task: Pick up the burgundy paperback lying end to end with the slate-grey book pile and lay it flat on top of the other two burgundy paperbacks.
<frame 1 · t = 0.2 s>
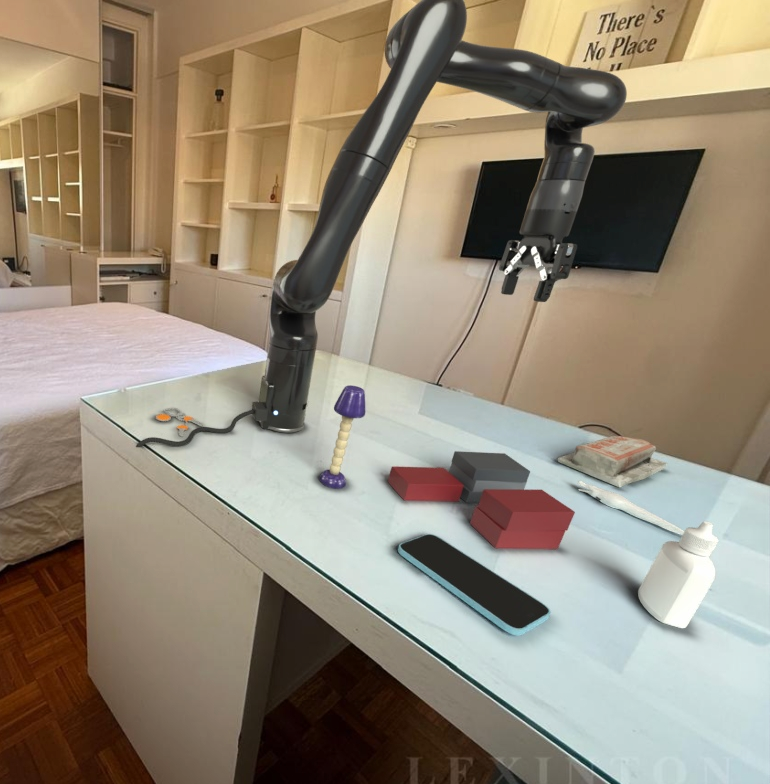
hand: (522, 297, 89), 29 cm above the table, tool pointing down, fingers open, 8 cm apart
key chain: (178, 423, 93), on the table
packaged product: (609, 467, 86), on the table
smartphone: (465, 583, 55), on the table
eye dropper bottle: (659, 611, 52), on the table
burgundy paperback: (422, 491, 74), on the table
toy lamp: (333, 483, 75), on the table
grey book pile: (480, 492, 74), on the table
white toothbrush: (627, 514, 71), on the table
burgundy book stack: (512, 536, 64), on the table
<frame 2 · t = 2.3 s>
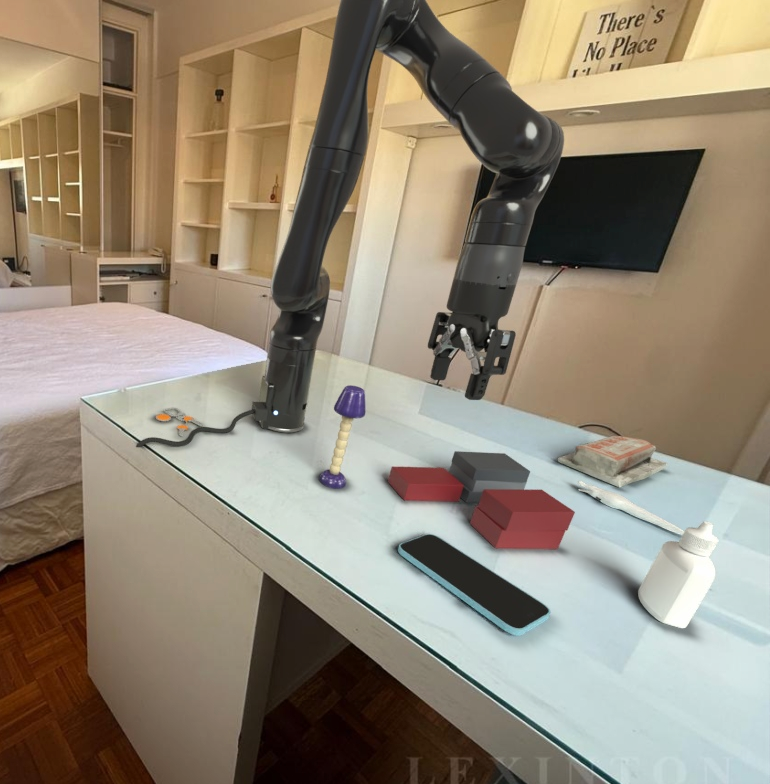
hand: (454, 388, 68), 18 cm above the table, tool pointing down, fingers open, 8 cm apart
nothing on the table moved.
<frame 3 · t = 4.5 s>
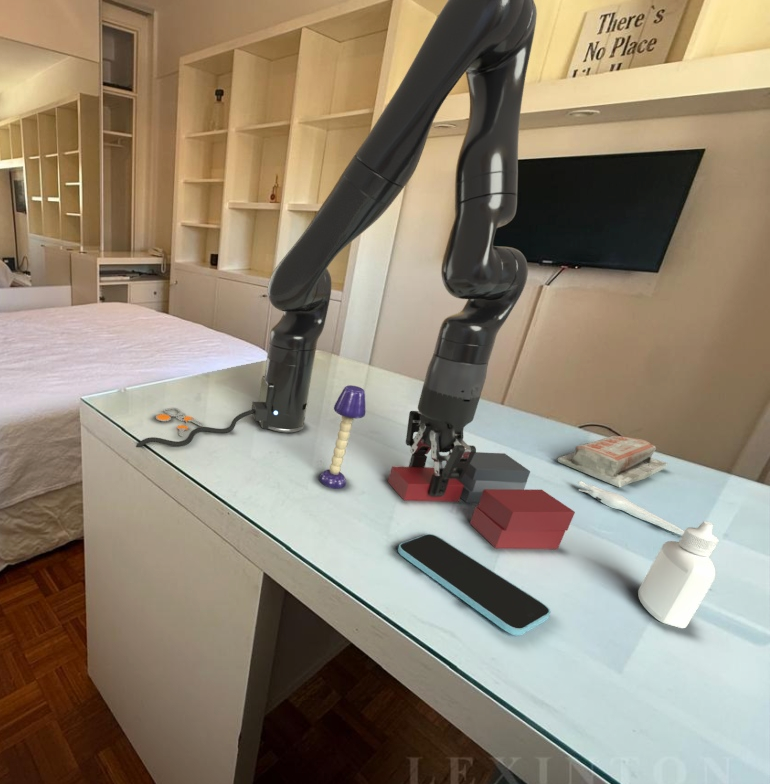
hand: (424, 484, 73), 1 cm above the table, tool pointing down, fingers closed on burgundy paperback, 5 cm apart
burgundy paperback: (422, 491, 74), on the table, touching gripper
everything else where it was.
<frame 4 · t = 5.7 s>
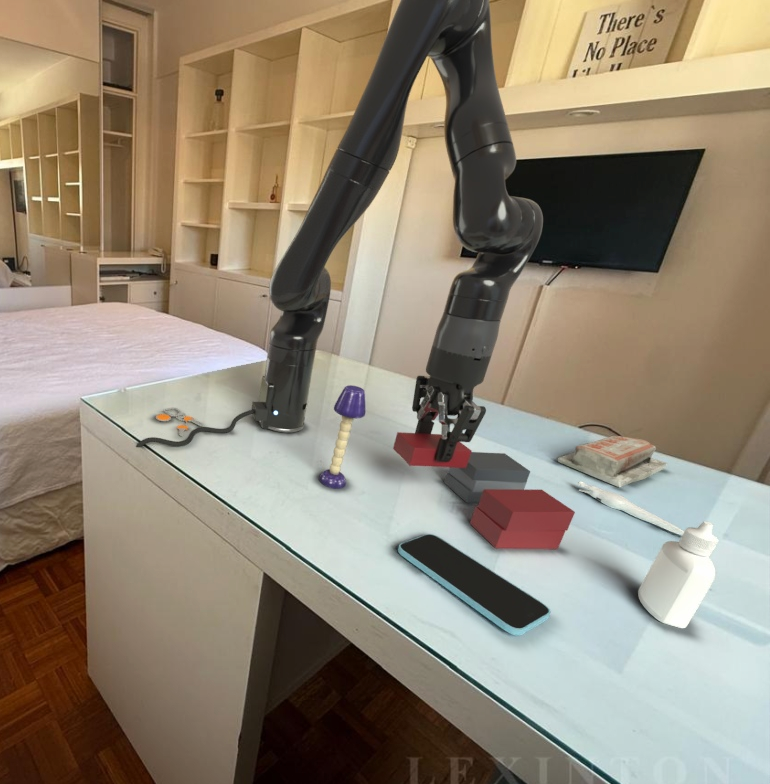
hand: (430, 450, 71), 7 cm above the table, tool pointing down, fingers closed on burgundy paperback, 5 cm apart
burgundy paperback: (428, 458, 72), point 6 cm above the table, touching gripper
everything else where it was.
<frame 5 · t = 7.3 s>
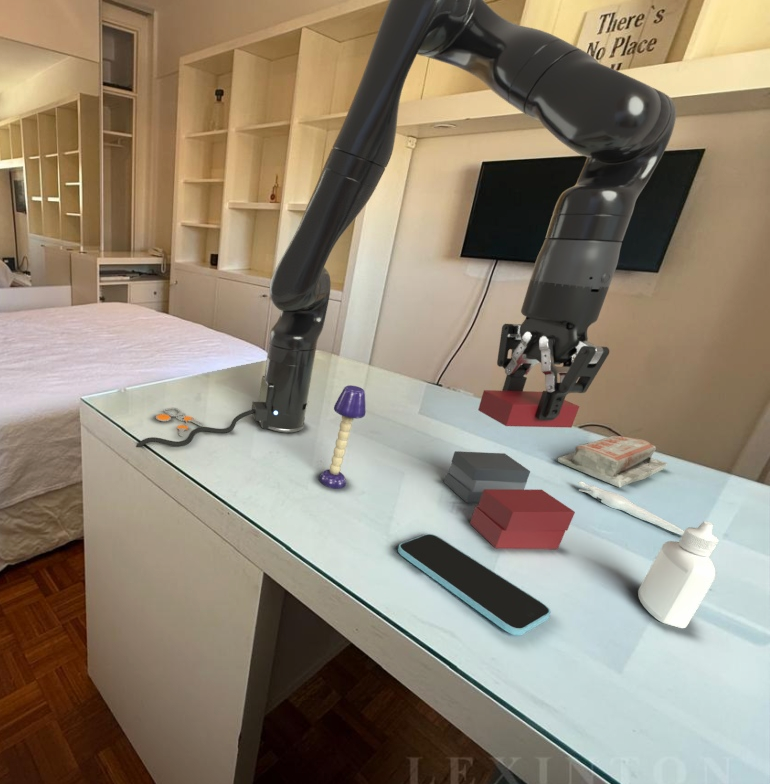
hand: (526, 409, 60), 18 cm above the table, tool pointing down, fingers closed on burgundy paperback, 5 cm apart
burgundy paperback: (523, 418, 61), point 17 cm above the table, touching gripper
everything else where it was.
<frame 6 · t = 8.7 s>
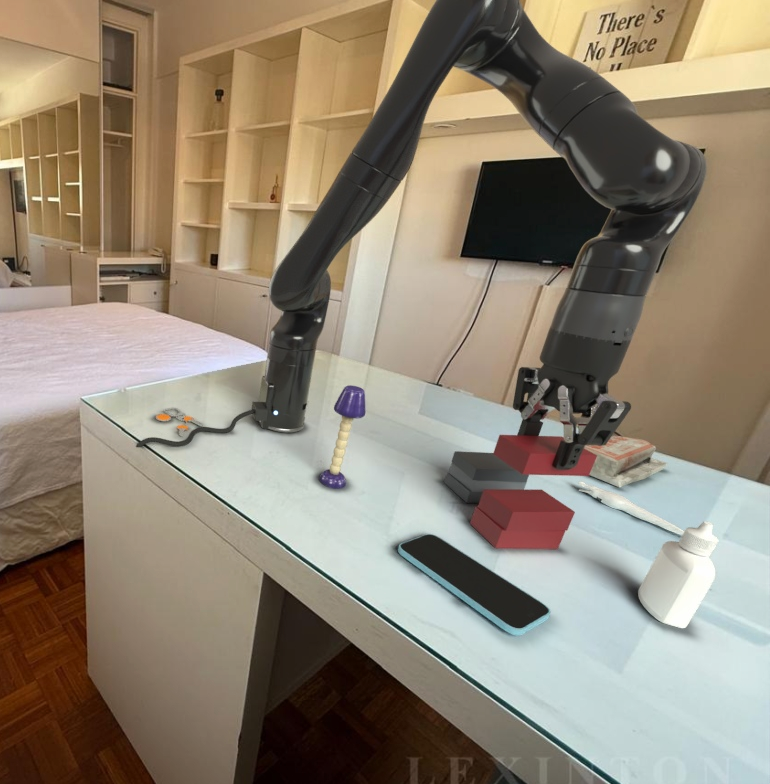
hand: (542, 456, 59), 13 cm above the table, tool pointing down, fingers closed on burgundy paperback, 5 cm apart
burgundy paperback: (539, 464, 60), point 11 cm above the table, touching gripper
everything else where it was.
when the fingers open (7 cm above the table, at t = 10.5 s): burgundy paperback stays where it is, resting on burgundy book stack.
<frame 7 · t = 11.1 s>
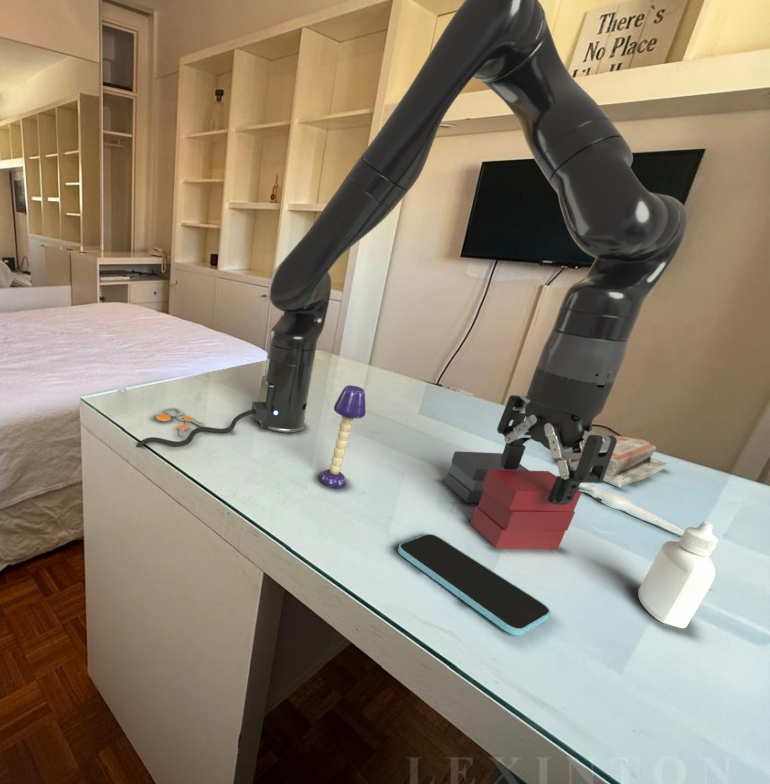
hand: (531, 484, 61), 8 cm above the table, tool pointing down, fingers open, 8 cm apart
burgundy paperback: (525, 499, 62), point 6 cm above the table, touching burgundy book stack
everything else where it was.
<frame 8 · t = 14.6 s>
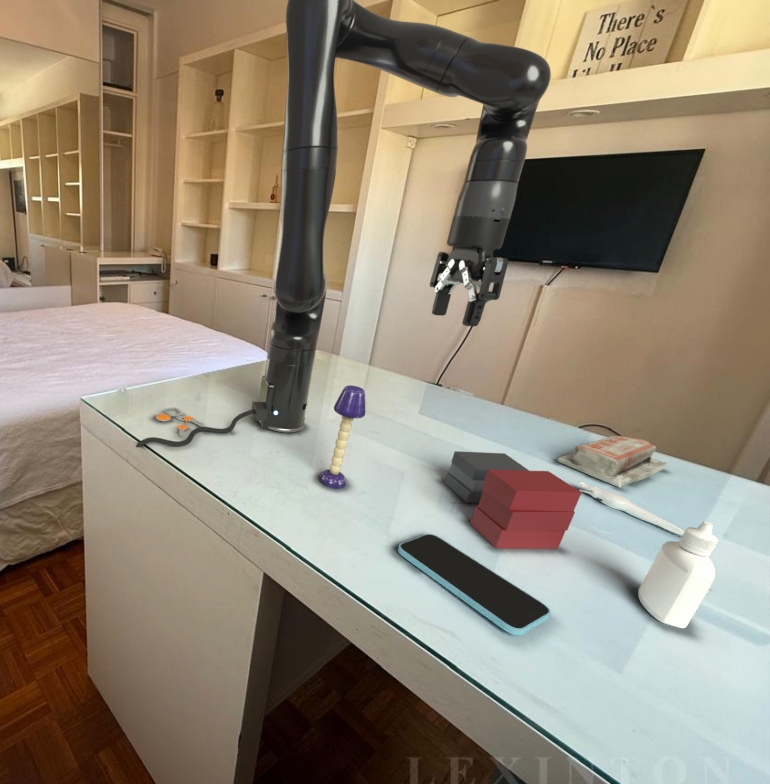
hand: (453, 320, 75), 26 cm above the table, tool pointing down, fingers open, 8 cm apart
nothing on the table moved.
at the end: burgundy paperback 0.1 cm off-centre on the burgundy book stack, point 6.0 cm above the burgundy book stack's base; burgundy paperback tilted 0°; the gripper is holding nothing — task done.
